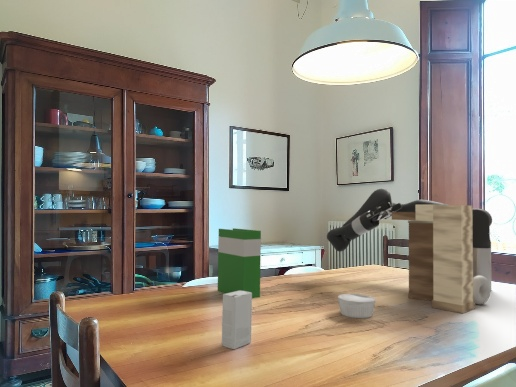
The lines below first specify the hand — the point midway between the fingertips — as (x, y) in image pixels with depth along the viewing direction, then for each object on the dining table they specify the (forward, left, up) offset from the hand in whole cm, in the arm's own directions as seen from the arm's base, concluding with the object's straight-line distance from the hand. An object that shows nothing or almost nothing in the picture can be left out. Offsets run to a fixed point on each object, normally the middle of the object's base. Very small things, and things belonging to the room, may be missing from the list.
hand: (395, 204), depth 157 cm
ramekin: (+43, -4, -35) cm, 56 cm away
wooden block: (+18, +21, -34) cm, 45 cm away
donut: (+8, +29, -35) cm, 46 cm away
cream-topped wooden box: (+4, +13, -34) cm, 37 cm away
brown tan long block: (+3, +8, -6) cm, 10 cm away
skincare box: (+85, -21, -35) cm, 95 cm away
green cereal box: (+38, -50, -35) cm, 72 cm away
